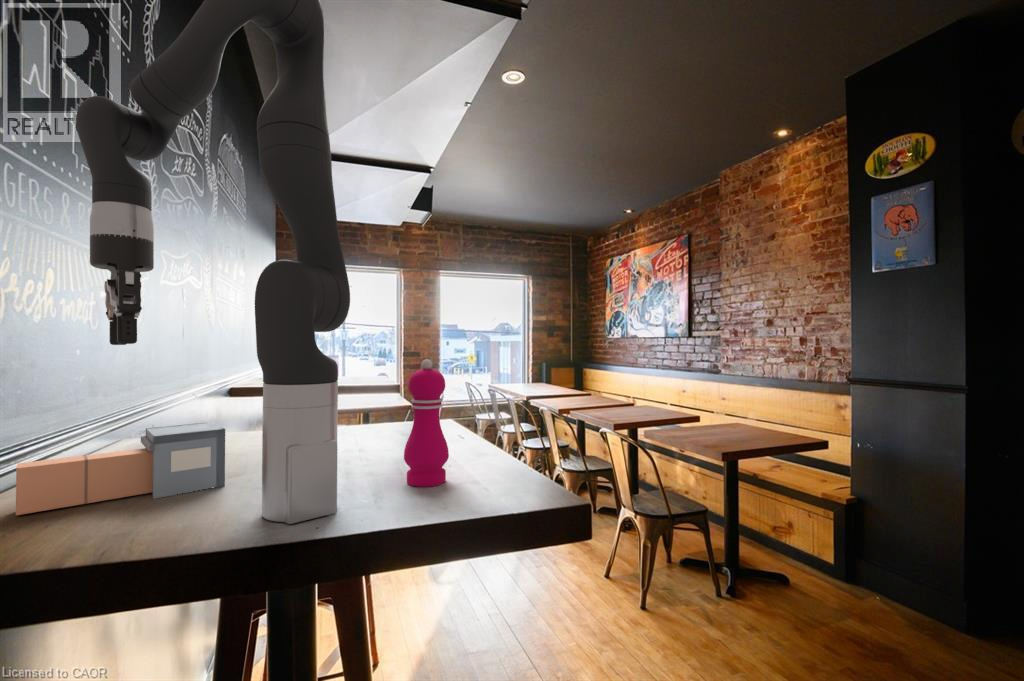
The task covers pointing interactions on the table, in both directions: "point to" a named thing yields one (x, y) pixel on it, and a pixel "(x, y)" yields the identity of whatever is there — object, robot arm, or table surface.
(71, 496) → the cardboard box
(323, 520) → the table surface
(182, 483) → the block
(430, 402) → the pepper mill
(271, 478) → the robot arm
